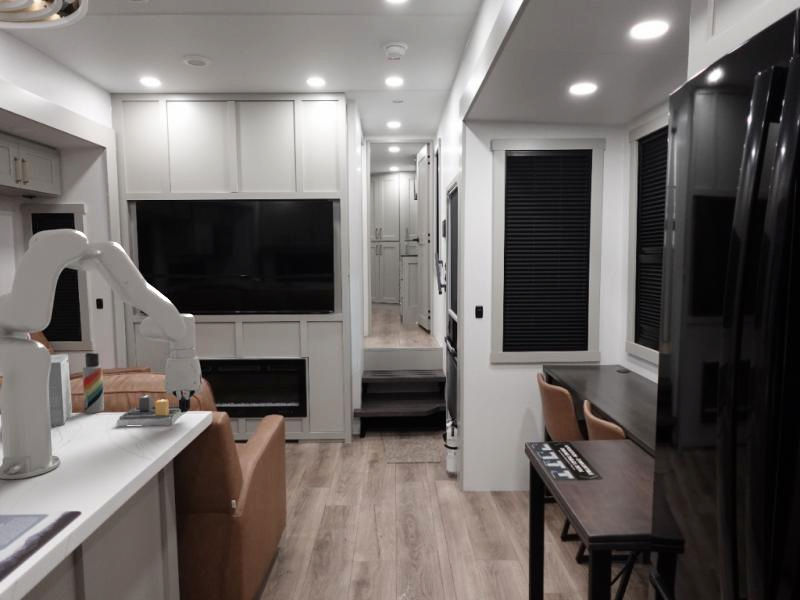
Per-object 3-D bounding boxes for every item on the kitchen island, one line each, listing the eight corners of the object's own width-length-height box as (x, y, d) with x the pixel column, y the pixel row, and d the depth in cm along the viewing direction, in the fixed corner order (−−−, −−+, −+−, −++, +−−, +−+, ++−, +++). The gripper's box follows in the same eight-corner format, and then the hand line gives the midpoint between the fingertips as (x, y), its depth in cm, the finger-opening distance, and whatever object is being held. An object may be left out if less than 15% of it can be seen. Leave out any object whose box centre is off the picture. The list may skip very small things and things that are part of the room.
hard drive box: (44, 415, 170) (41, 355, 169) (72, 412, 173) (69, 353, 172) (34, 428, 156) (31, 363, 155) (64, 425, 159) (61, 361, 158)
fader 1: (149, 411, 166) (148, 397, 166) (139, 411, 166) (139, 397, 166) (152, 409, 169) (152, 394, 169) (143, 409, 169) (142, 395, 169)
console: (171, 424, 159) (171, 416, 159) (117, 427, 157) (116, 418, 157) (185, 412, 173) (185, 404, 173) (135, 413, 171) (135, 406, 171)
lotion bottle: (80, 412, 173) (77, 353, 171) (95, 408, 178) (92, 350, 177) (93, 414, 171) (91, 354, 170) (108, 409, 176) (105, 351, 175)
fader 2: (165, 416, 161) (165, 401, 161) (155, 416, 161) (155, 401, 160) (169, 413, 164) (168, 398, 164) (159, 413, 164) (158, 399, 163)
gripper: (153, 356, 157) (155, 415, 158) (204, 355, 159) (206, 413, 160) (162, 352, 165) (164, 408, 166) (210, 351, 166) (212, 407, 168)
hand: (184, 411), depth 163 cm, fingers closed
